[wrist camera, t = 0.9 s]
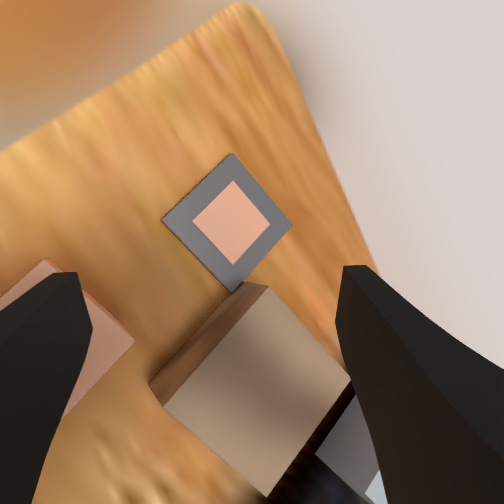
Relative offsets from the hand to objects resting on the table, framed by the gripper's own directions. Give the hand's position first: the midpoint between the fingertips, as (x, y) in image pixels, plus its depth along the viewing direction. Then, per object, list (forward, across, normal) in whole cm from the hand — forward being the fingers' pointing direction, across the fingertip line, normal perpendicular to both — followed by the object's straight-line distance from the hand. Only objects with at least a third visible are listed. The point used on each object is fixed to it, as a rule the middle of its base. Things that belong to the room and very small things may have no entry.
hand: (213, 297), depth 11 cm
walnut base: (+8, -1, +13) cm, 15 cm away
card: (+13, 0, +5) cm, 14 cm away
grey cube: (+8, -9, +20) cm, 23 cm away
